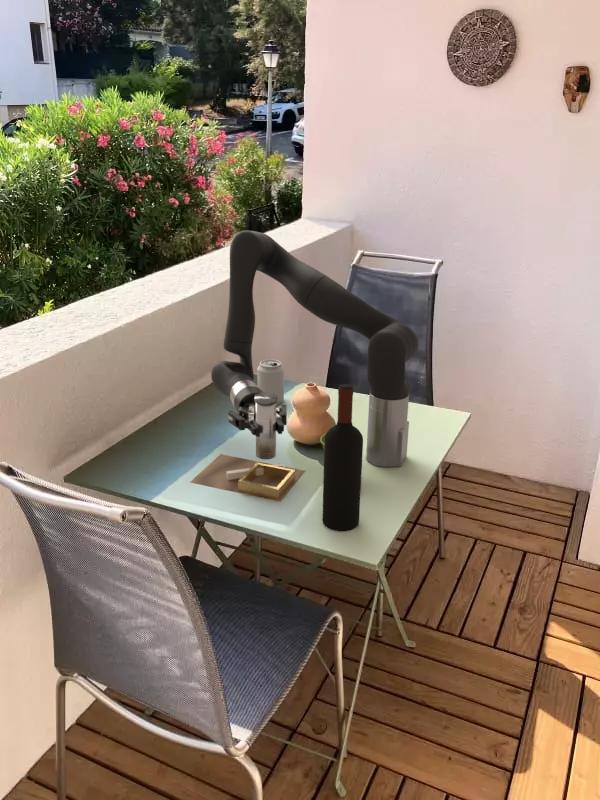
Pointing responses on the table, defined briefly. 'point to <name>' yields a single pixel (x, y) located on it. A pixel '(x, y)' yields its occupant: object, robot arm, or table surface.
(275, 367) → the can
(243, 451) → the table surface
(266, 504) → the table surface
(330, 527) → the wine bottle
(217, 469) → the board
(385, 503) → the table surface
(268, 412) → the silver cylindrical piece
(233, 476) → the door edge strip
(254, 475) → the keeper
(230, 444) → the table surface
